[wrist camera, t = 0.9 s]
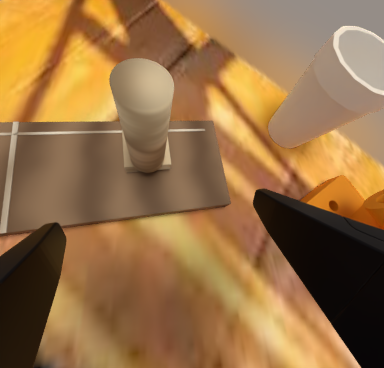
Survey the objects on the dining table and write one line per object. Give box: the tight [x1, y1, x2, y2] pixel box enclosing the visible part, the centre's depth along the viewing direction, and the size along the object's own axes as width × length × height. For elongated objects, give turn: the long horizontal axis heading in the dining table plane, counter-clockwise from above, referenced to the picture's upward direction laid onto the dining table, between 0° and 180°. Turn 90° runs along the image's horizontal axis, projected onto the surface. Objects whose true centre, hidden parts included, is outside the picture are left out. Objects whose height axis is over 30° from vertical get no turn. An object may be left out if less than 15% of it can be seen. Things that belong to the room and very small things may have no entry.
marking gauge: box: [110, 58, 174, 173], centre depth 18 cm, size 5×10×14 cm, turn 10°
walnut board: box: [0, 121, 231, 236], centre depth 21 cm, size 30×12×2 cm, turn 100°
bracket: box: [300, 175, 384, 230], centre depth 21 cm, size 11×7×12 cm
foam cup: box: [268, 26, 384, 149], centre depth 24 cm, size 10×9×13 cm
